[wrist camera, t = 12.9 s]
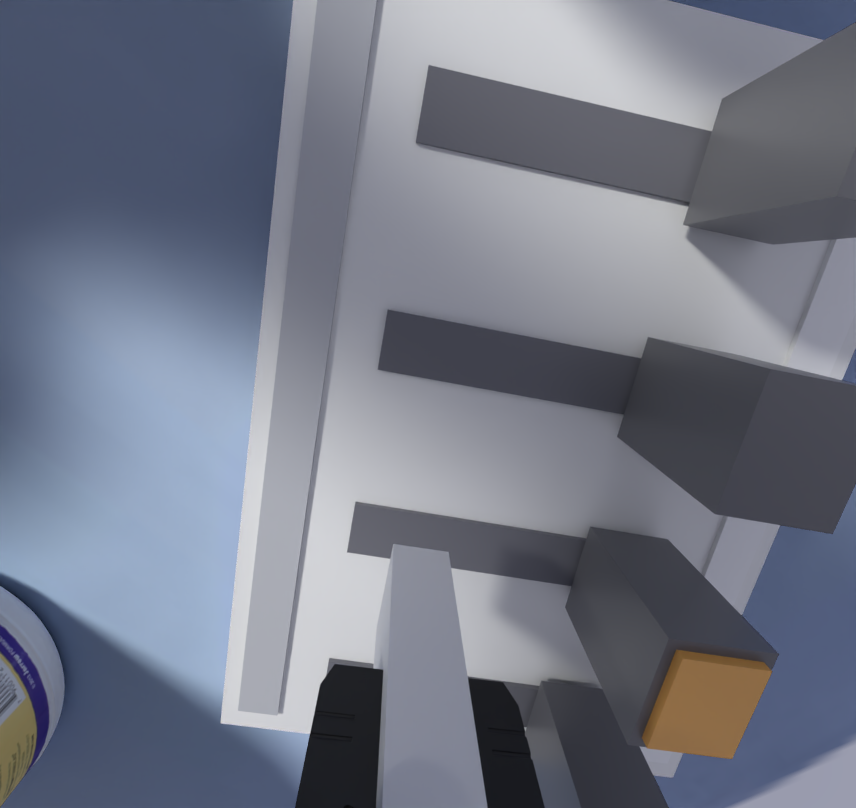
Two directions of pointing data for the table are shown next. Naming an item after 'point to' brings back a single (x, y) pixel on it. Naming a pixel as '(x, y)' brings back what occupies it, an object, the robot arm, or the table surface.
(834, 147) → the breaker
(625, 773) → the breaker
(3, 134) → the table surface
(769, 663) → the breaker
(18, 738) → the supplement tub
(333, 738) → the robot arm
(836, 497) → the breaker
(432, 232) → the panel
